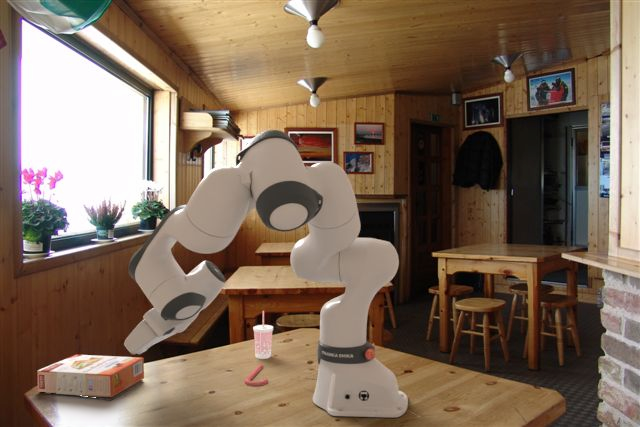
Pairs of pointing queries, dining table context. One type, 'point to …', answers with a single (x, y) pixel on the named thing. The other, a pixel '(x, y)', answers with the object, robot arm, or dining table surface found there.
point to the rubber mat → (118, 393)
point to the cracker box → (91, 375)
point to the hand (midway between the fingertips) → (139, 350)
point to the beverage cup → (263, 340)
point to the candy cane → (253, 374)
